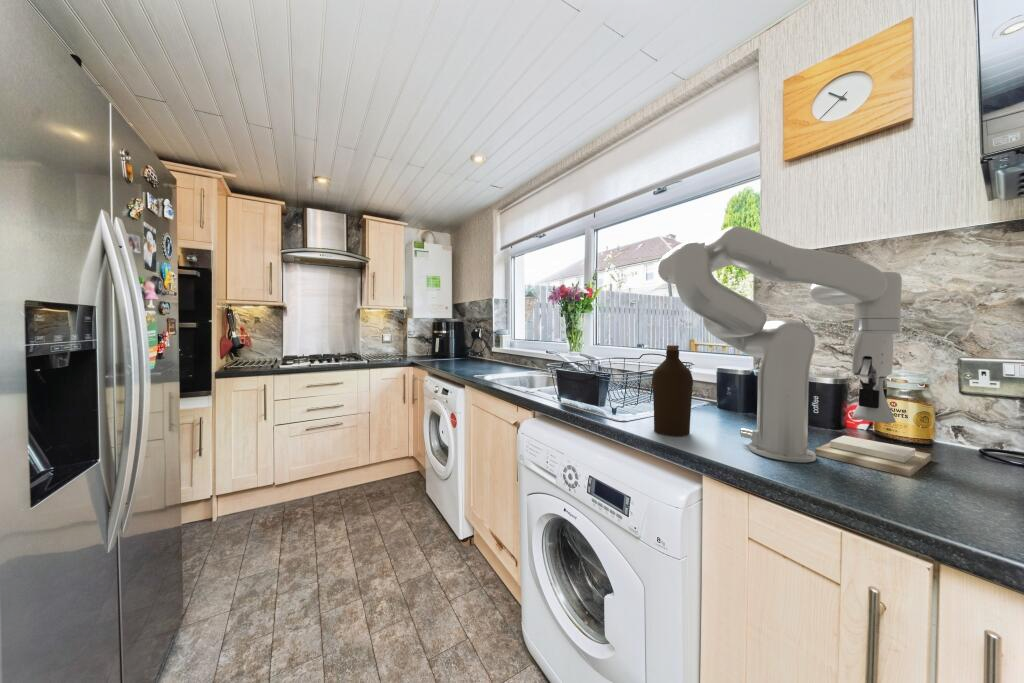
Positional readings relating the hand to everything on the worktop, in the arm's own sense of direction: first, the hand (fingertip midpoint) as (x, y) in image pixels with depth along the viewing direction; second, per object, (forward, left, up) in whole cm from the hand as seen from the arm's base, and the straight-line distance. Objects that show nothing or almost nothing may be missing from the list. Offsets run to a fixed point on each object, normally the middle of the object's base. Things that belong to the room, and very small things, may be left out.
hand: (872, 405), depth 82 cm
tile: (0, +3, -10) cm, 10 cm away
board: (0, -1, -12) cm, 12 cm away
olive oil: (-37, -21, -12) cm, 44 cm away
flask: (0, 0, -4) cm, 4 cm away
